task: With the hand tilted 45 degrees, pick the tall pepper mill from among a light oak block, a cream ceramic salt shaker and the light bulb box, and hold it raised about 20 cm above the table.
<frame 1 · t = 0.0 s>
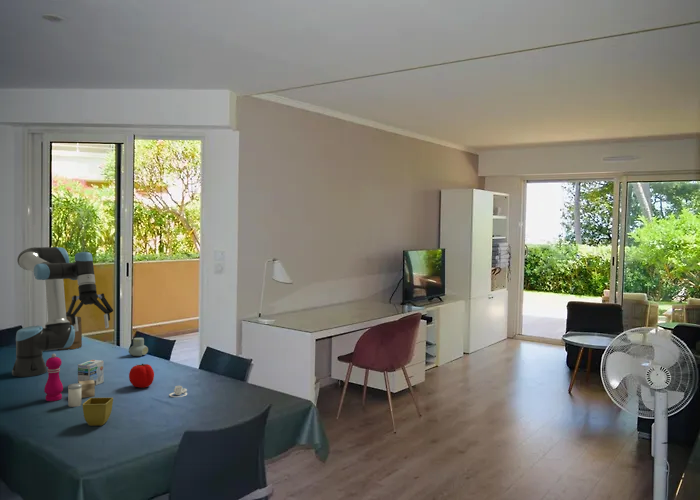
hand: (92, 329, 258), 28 cm above the table, tool tilted 20°, fingers open, 13 cm apart
wooden container: (68, 347, 345), on the table
air freshener: (138, 355, 327), on the table
light oak block: (86, 395, 250), on the table
pepper mill: (53, 399, 244), on the table
salt shaker: (74, 405, 236), on the table
flower pot: (98, 424, 215), on the table
light bulb box: (90, 385, 266), on the table
tomato: (141, 387, 265), on the table
teacup and saucer: (185, 395, 254), on the table
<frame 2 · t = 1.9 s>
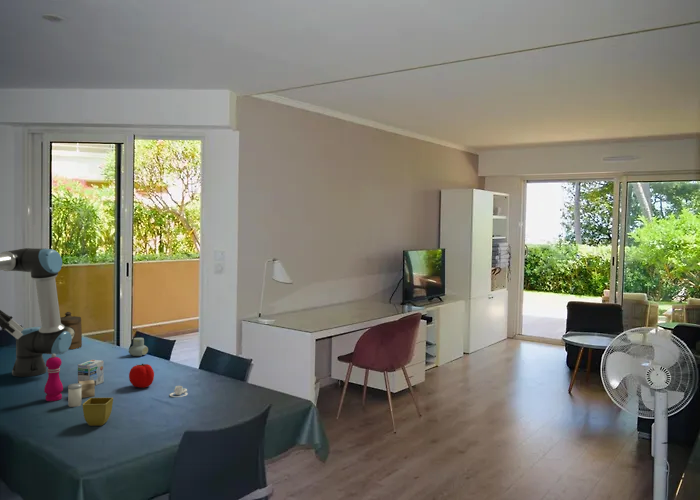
hand: (21, 334, 237), 29 cm above the table, tool tilted 45°, fingers open, 13 cm apart
nothing on the table moved.
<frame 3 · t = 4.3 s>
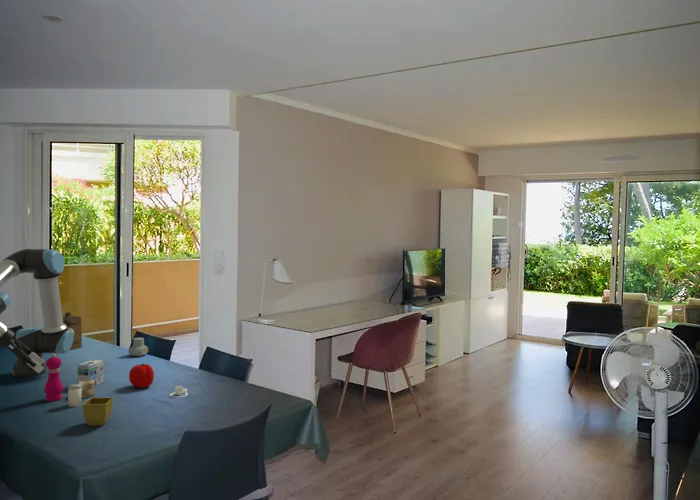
hand: (41, 367, 240), 15 cm above the table, tool tilted 45°, fingers open, 13 cm apart
nothing on the table moved.
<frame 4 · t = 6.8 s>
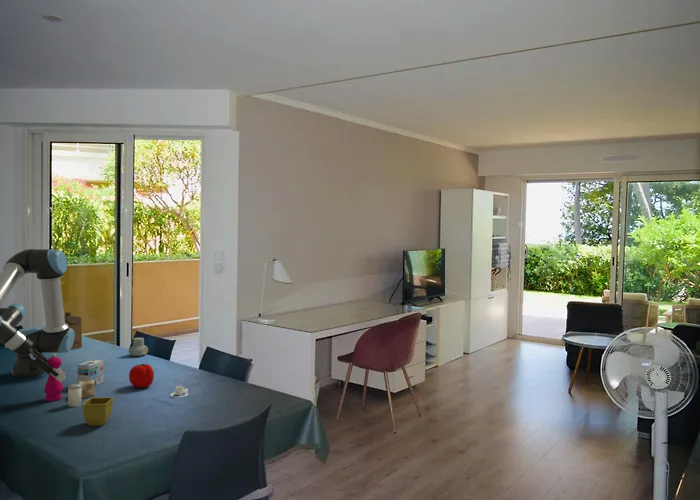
hand: (63, 378, 245), 9 cm above the table, tool tilted 45°, fingers closed on pepper mill, 5 cm apart
pepper mill: (53, 399, 244), on the table, touching gripper
everything else where it was.
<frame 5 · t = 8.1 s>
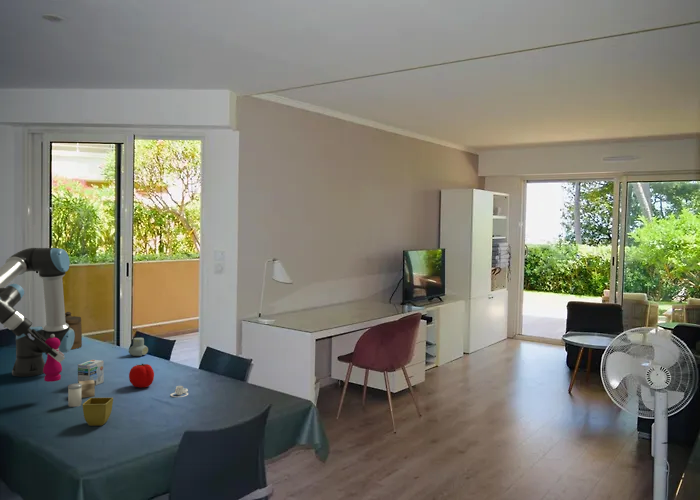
hand: (62, 358, 244), 18 cm above the table, tool tilted 45°, fingers closed on pepper mill, 5 cm apart
pepper mill: (52, 380, 242), point 9 cm above the table, touching gripper
everything else where it was.
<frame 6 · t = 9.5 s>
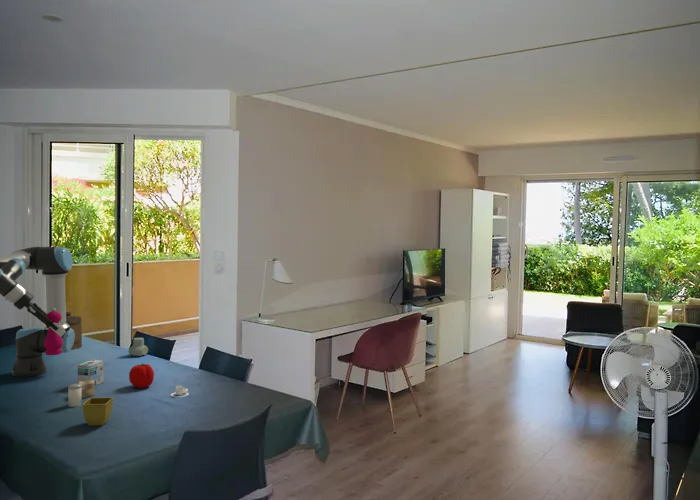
hand: (63, 333, 244), 29 cm above the table, tool tilted 45°, fingers closed on pepper mill, 5 cm apart
pepper mill: (53, 354, 243), point 20 cm above the table, touching gripper
everything else where it was.
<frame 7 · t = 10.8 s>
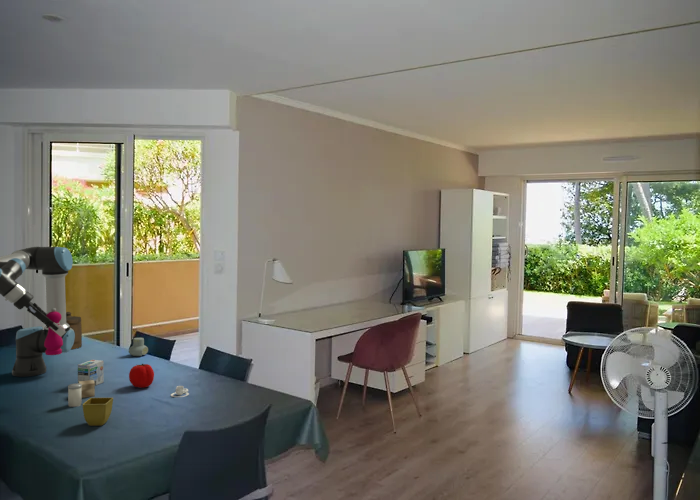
hand: (63, 333, 244), 29 cm above the table, tool tilted 45°, fingers closed on pepper mill, 5 cm apart
pepper mill: (53, 354, 243), point 20 cm above the table, touching gripper
everything else where it was.
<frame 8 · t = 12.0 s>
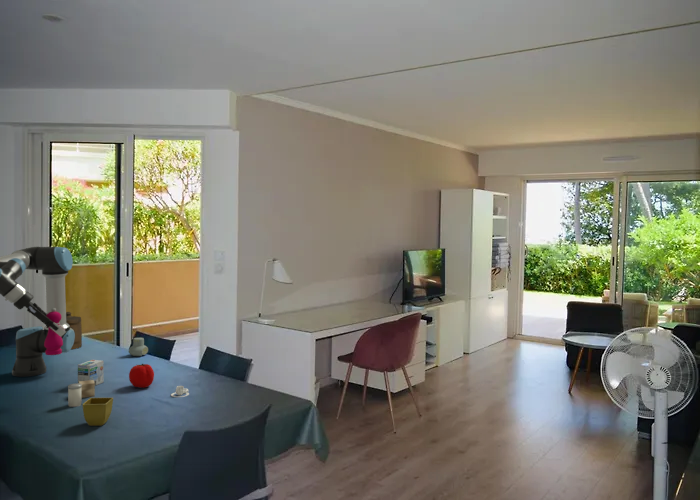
hand: (63, 333, 244), 29 cm above the table, tool tilted 45°, fingers closed on pepper mill, 5 cm apart
pepper mill: (53, 354, 243), point 20 cm above the table, touching gripper
everything else where it was.
at the end: the gripper is holding pepper mill; pepper mill point 19.7 cm above the table; salt shaker moved 0.0 cm from its start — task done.
